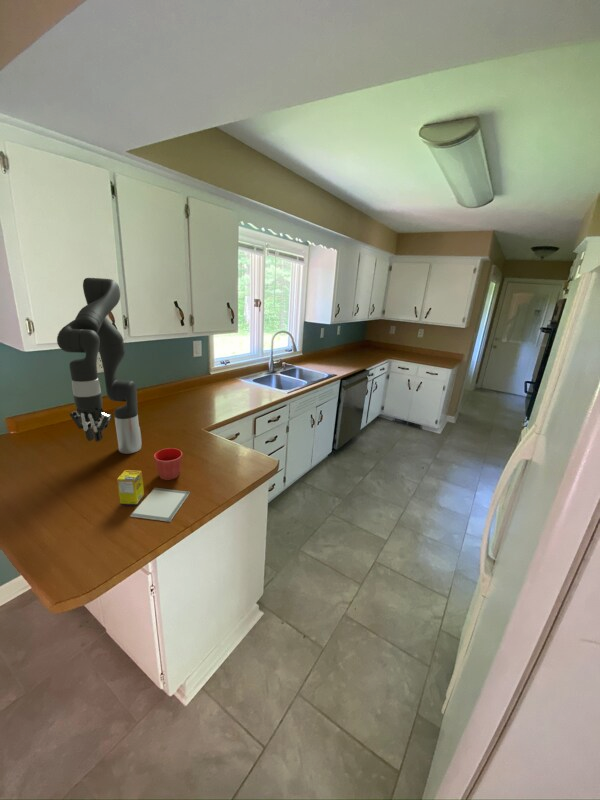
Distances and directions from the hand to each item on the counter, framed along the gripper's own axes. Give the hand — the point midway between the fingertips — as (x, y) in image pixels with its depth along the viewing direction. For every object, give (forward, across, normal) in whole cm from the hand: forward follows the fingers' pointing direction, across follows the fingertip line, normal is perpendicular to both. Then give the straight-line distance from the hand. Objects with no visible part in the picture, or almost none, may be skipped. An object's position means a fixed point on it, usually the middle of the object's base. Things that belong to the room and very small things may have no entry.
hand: (94, 440), depth 107 cm
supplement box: (+23, -11, 0) cm, 26 cm away
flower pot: (+23, -16, -18) cm, 33 cm away
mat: (+23, -22, 0) cm, 32 cm away
